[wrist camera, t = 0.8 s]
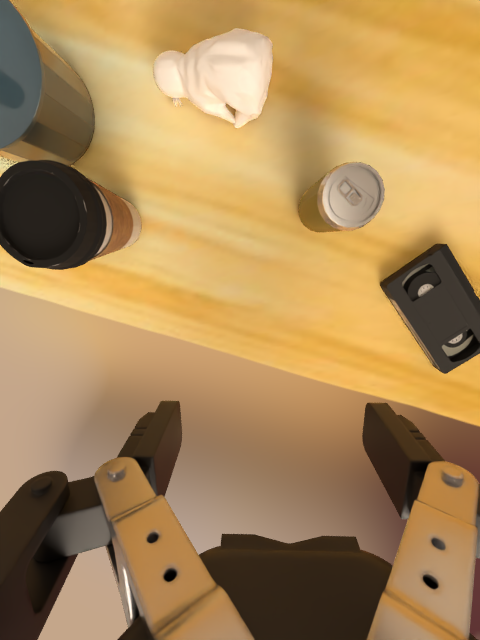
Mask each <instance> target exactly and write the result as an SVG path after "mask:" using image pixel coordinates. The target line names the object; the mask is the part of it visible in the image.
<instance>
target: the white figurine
mask: <svg viewBox="0 0 480 640" xmlns="http://www.w3.org/2000/svg"><path fill="white" fill-rule="evenodd" d="M272 47H273V44H272V42H271V40H270V39H269V38H268V37H266V36H264V35H262V34H260V33H257V32H251V31H249V30H246V29H239V28H235V29H233V30H231V31H229V32H227V33H224V34H221V35H218V36H214V37H212V38H211V39H205V40H203V41H201V42H199V43H197V44H195V45H193V46H192V47H191V48H190V49H189V51H188V52H187V53H186V54H183V53H181V52H182V51H181V52H178V51H173V50H171V51H165V52H163V53H161V54H160V55H159V56H158V57H157V58H156V60H155V62H154V65H153V75H154V79H155V82H156V84H157V86H158V88H159V89H160V90H161V91H162V92H163V93H164V94H166V95H167V96H169V97H172V99H173V103H174V104H175V102H176V105H177V102H178V103H179V105H180V103H181V100H180V99H179V98H181V97H185V98H188V99H189V100H190V101H191V102H192V103H193V104H194V105H195V106H197V107H198V108H199V109H200V110H202V111H203V112H205V113H207V114H211V115H215V116H217V117H220V118H222V119H225V120H227V121H229V122H231V123H233V125H234V127H235V128H240V127H242V126H243V125H244V124H246V123H247V122H248V121H250V120H254V119H257V118H258V116H259V115H260V114H261V112H262V108H263V105H264V103H265V100H266V98H267V95H268V87H269V83H270V79H271V75H272V63H273V54H272ZM176 99H177V100H176ZM226 103H227V104H228V105H229V106H231V107H233V108H234V109H236V110H237V111H236V113H235V116H233V114H232V113H231V112H230V111H229V110H228V109H227V107H226ZM181 104H182V103H181ZM176 105H175V107H176ZM180 106H181V105H180ZM182 106H183V105H182ZM177 108H178V107H177Z"/></svg>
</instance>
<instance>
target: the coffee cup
mask: <svg viewBox="0 0 480 640" xmlns="http://www.w3.org/2000/svg"><path fill="white" fill-rule="evenodd" d="M140 232H141V219H140V216H139V213H138V211H137V210H136V208H135V207H134V206H133V205H132V204H131V203H129V202H128V201H127V200H125V199H123V198H121V197H119V196H117V195H116V194H114V193H112V192H110V191H109V190H107V189H105V188H103V187H102V186H100V185H98V184H96V183H95V182H93V181H91V180H89V179H88V178H86V177H85V176H84V175H82V174H81V173H80V172H78V171H77V170H75V169H73V168H71V167H69V166H67V165H65V164H63V163H60V162H56V161H52V160H28V161H23V162H19V163H17V164H15V165H13V166H11V167H10V168H9V169H7V170H6V171H5V172H4V173H3V174H2V176H1V177H0V245H1V246H2V247H3V248H4V249H5V250H6V251H7V253H9V254H10V255H11V256H12V257H14V258H15V259H16V260H18V261H19V262H21V263H22V264H24V265H26V266H29V267H37V268H49V269H58V270H63V269H68V268H74V267H78V266H80V265H83V264H85V263H86V262H88V261H90V260H92V259H95V258H98V257H101V256H103V255H106V254H109V253H112V252H114V251H117V250H120V249H123V248H126V247H128V246H130V245H132V244H133V243H134V242H135V241H136V240H137V239H138V237H139V235H140Z"/></svg>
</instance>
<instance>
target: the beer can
mask: <svg viewBox="0 0 480 640" xmlns="http://www.w3.org/2000/svg"><path fill="white" fill-rule="evenodd" d="M384 191H385V189H384V184H383V180H382V178H381V177H380V175H379V173H378V172H377V171H376V170H375V169H374V168H372V167H371V166H370V165H367V164H364V163H361V162H359V163H358V162H350V163H344V164H341V165H339V166H336V167H335V168H334V169H332V170H331V171H330V172H329V173H327V174H326V175H325V176H324V177H323V178H321V179H320V180H319V181H318V182H316V183H315V184H314V185H313V186H311V187H310V188H309V189H308V190H307V191H305V193H304V194H303V196H302V197H301V200H300V203H299V216H300V219H301V221H302V223H303V224H304V225H305V226H306V227H307V228H308V229H310V230H311V231H315V232H334V231H350V230H355V229H358V228H361V227H363V226H364V225H366V224H367V223H368V222H370V221H371V220H372V219H373V218H374V217H375V216H376V214H377V213H378V212H379V210H380V208H381V206H382V203H383V201H384Z"/></svg>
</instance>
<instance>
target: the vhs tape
mask: <svg viewBox="0 0 480 640" xmlns="http://www.w3.org/2000/svg"><path fill="white" fill-rule="evenodd" d="M380 286H381V288H382V289H383V291H384V292H385V294H386V295H387V297H388V298H389V300H390V301H391V303H392V304H393V306H394V307H395V309H396V310H397V312H398V313H399V315H400V316H401V318H402V319H403V321H404V322H405V324H406V325H407V327H408V328H409V330H410V331H411V333H412V334H413V336H414V337H415V339H416V340H417V342H418V344H419V345H420V347H421V348H422V350H423V351H424V353H425V354H426V356H427V357H428V359H429V360H430V362H431V363H432V365H433V366H434V367H435V368H436V369H438V370H439V371H441V372H442V373H444V374H446V373H448V372H450V371H451V370H453V369H455V368H456V367H458V366H460V365H461V364H463V363H465V362H466V361H468V360H469V359H471V358H473V357H474V356H476V355H478V354H479V353H480V300H479V298H478V296H476V294H475V293H474V290H473V288H472V286H471V284H470V283H469V281H468V279H467V278H466V276H465V274H464V273H463V271H462V269H461V268H460V266H459V264H458V263H457V261H456V259H455V257H454V256H453V254H452V252H451V251H450V249H449V247H448V246H447V244H436V245H434V246H433V247H431V248H430V249H428V250H427V251H426V252H424V253H423V254H421V255H420V256H418V257H417V258H415V259H414V260H413V261H411V262H410V263H408V264H407V265H405V266H404V267H403V268H401V269H400V270H398V271H397V272H395V273H394V274H393V275H391V276H390V277H388V278H387V279H385V280H384V281H382V282H381V284H380Z"/></svg>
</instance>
